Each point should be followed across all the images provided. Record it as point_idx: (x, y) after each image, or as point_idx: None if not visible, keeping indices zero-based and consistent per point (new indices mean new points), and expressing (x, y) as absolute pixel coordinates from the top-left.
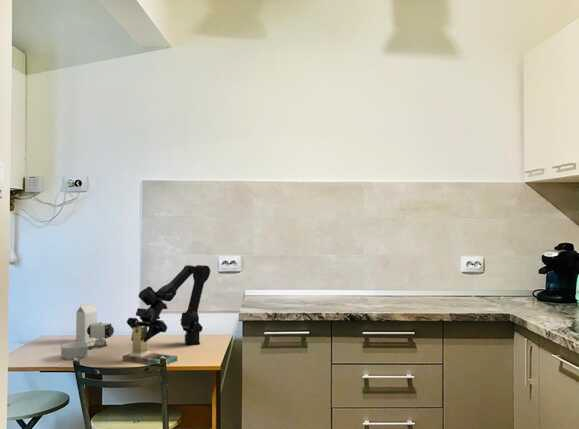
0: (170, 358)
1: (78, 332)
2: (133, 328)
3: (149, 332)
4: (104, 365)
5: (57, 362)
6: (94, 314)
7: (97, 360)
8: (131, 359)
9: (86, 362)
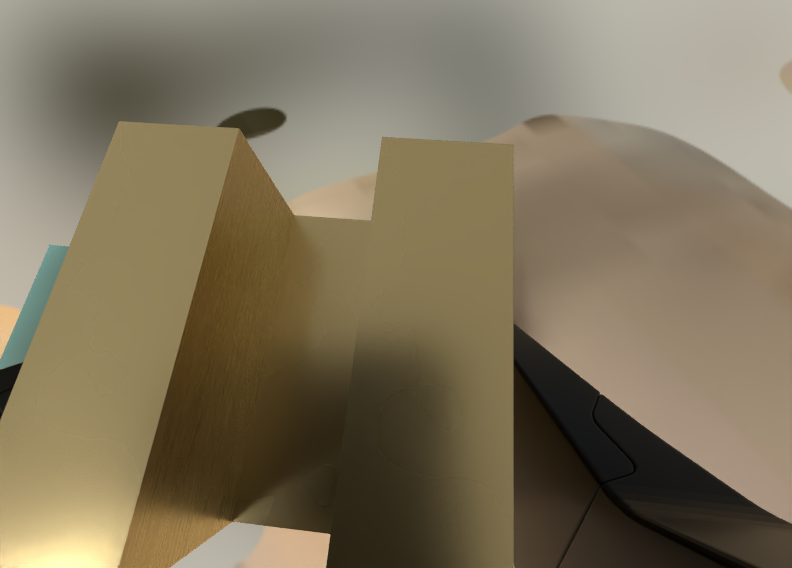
0: (16, 342)
1: None
2: (468, 156)
3: (16, 365)
4: (537, 154)
5: None
6: None
7: (704, 243)
8: None
9: (731, 175)
